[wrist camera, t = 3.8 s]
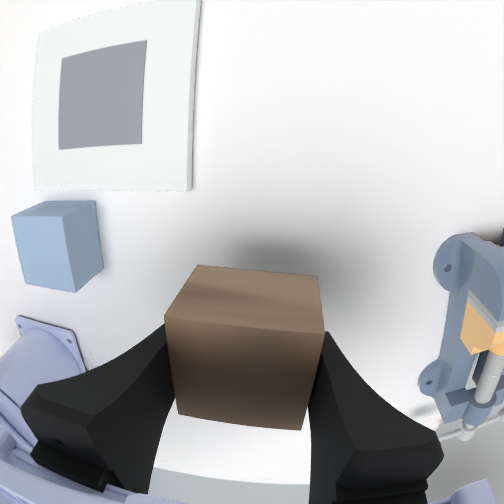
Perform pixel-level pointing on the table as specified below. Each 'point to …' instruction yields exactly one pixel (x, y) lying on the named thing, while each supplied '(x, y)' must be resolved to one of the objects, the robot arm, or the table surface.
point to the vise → (469, 334)
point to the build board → (117, 100)
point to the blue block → (58, 244)
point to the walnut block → (245, 346)
